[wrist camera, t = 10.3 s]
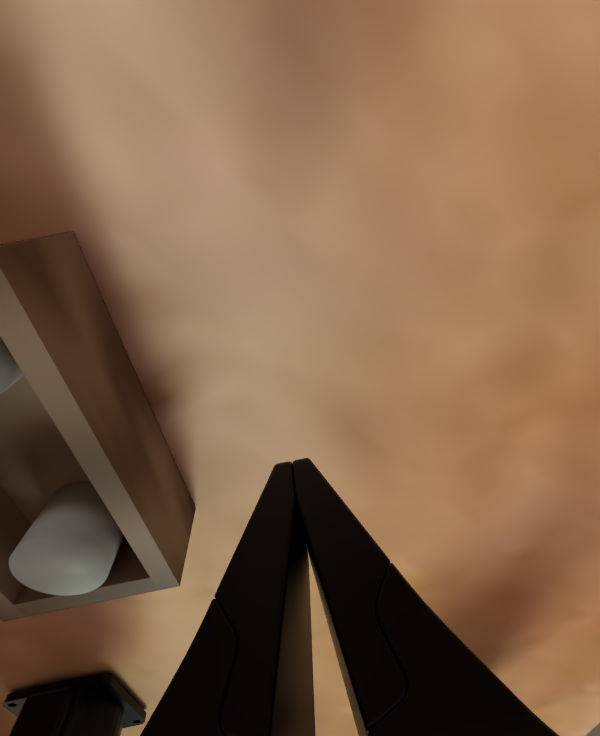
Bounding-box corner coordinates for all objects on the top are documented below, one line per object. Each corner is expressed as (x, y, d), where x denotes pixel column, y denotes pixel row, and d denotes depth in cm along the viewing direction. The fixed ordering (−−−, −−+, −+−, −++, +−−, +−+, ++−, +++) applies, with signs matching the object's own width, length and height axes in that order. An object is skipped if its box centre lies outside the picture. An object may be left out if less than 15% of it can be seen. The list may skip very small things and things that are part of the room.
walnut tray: (-149, 272, 10) (-340, 309, 7) (72, 231, 10) (-14, 250, 7) (54, 536, 16) (1, 624, 12) (195, 508, 16) (179, 588, 13)
